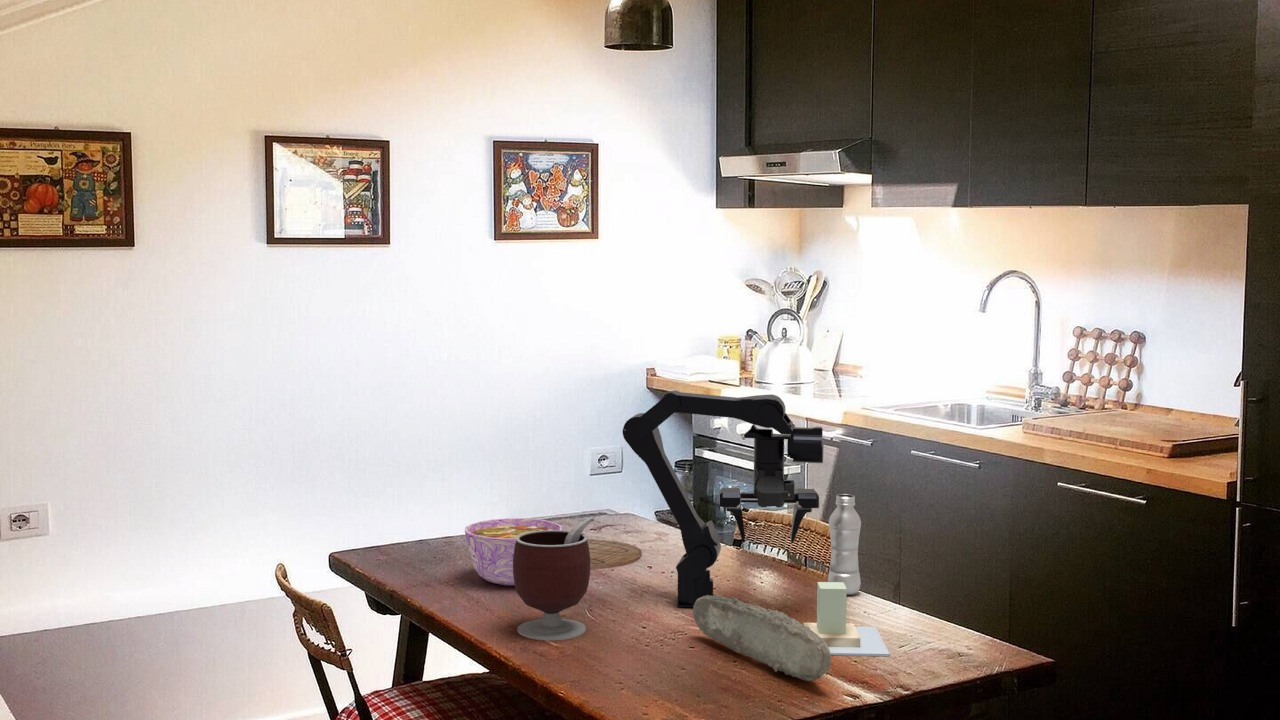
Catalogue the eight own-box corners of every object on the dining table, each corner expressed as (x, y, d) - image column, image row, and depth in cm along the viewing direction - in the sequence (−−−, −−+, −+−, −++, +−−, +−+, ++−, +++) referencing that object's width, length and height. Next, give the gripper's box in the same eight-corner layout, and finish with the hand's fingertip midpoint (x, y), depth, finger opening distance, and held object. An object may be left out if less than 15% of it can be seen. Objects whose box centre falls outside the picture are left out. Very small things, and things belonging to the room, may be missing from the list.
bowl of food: (446, 589, 261) (446, 533, 260) (494, 567, 280) (494, 514, 279) (535, 600, 254) (535, 542, 253) (578, 577, 272) (578, 522, 271)
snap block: (819, 633, 226) (820, 588, 225) (816, 626, 231) (817, 582, 230) (845, 634, 226) (846, 589, 225) (842, 626, 230) (843, 582, 230)
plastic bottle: (840, 600, 255) (842, 500, 254) (820, 592, 261) (822, 494, 260) (867, 596, 258) (869, 497, 257) (846, 588, 264) (848, 491, 263)
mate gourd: (535, 647, 224) (535, 533, 222) (499, 627, 236) (499, 518, 234) (612, 633, 232) (612, 523, 230) (574, 615, 244) (574, 510, 242)
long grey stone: (683, 640, 229) (683, 585, 228) (707, 635, 232) (707, 581, 231) (819, 697, 200) (820, 633, 199) (844, 690, 203) (845, 628, 202)
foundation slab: (807, 646, 224) (808, 637, 224) (803, 631, 233) (803, 622, 233) (860, 647, 224) (860, 638, 223) (853, 632, 233) (853, 623, 232)
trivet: (599, 579, 272) (599, 571, 271) (506, 563, 285) (506, 555, 285) (663, 556, 292) (663, 548, 292) (573, 542, 306) (573, 534, 306)
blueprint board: (783, 654, 221) (783, 652, 221) (776, 627, 236) (776, 625, 236) (889, 656, 220) (889, 653, 220) (875, 628, 236) (875, 626, 236)
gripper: (720, 468, 238) (720, 551, 240) (822, 469, 238) (821, 552, 239) (719, 458, 249) (718, 538, 251) (816, 459, 249) (815, 539, 250)
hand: (767, 542), depth 247 cm, fingers open, 9 cm apart
